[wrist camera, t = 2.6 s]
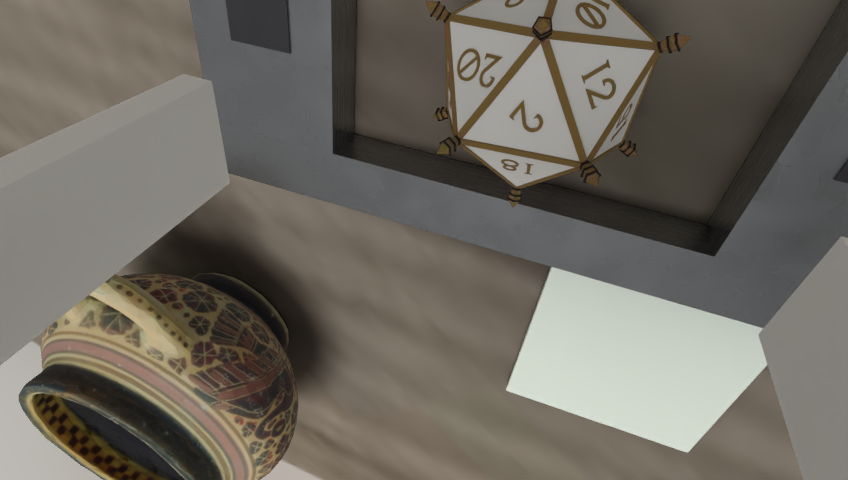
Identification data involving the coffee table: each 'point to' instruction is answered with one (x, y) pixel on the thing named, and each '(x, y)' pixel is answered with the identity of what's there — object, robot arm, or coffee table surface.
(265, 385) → the ceramic bowl
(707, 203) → the coffee table surface
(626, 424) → the pale green flat panel
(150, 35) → the coffee table surface
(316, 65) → the dark grey rectangular frame
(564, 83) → the game die
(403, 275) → the coffee table surface
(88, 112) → the coffee table surface
